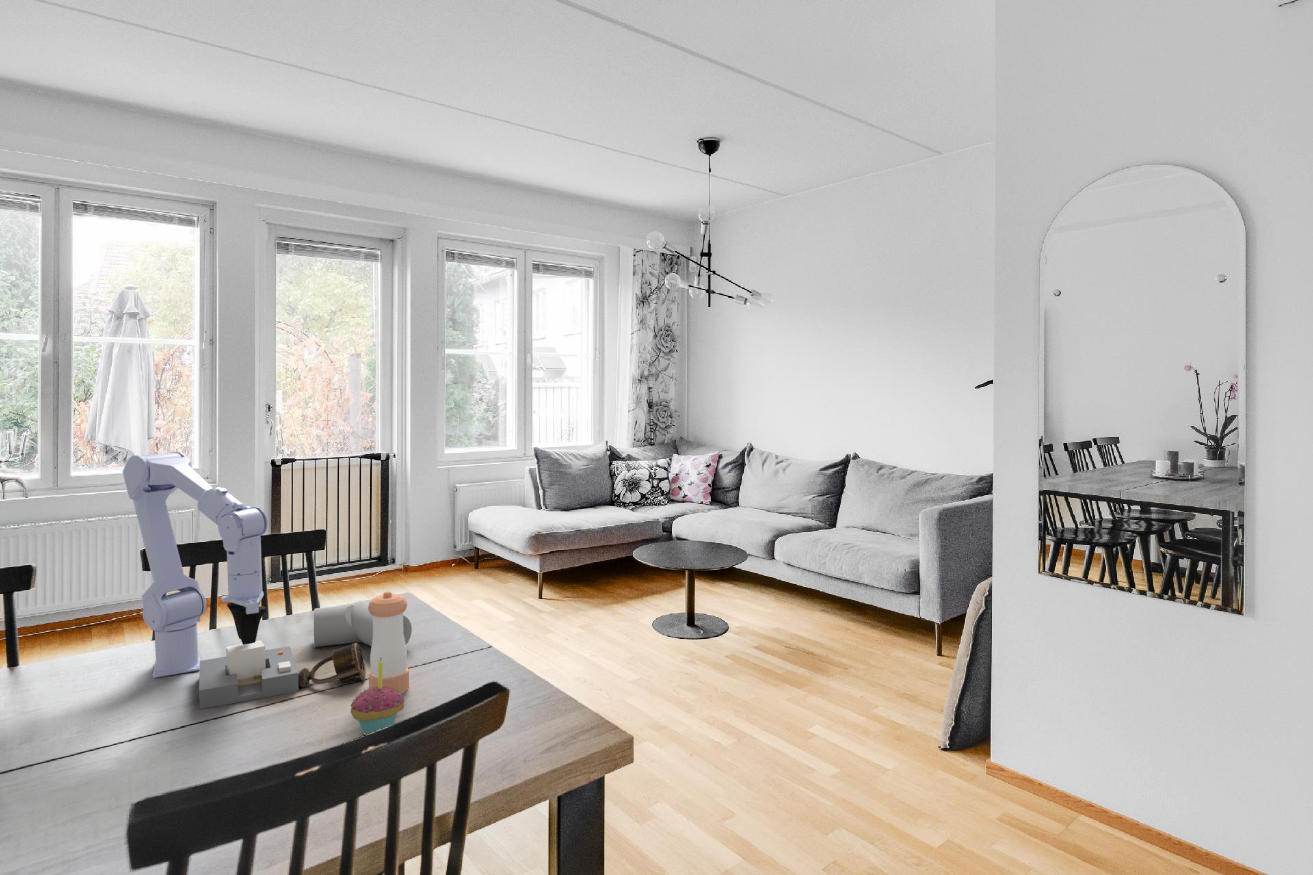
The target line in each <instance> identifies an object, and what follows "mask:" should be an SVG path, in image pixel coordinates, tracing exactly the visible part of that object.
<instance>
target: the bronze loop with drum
mask: <svg viewBox="0 0 1313 875" xmlns="http://www.w3.org/2000/svg"><path fill="white" fill-rule="evenodd" d="M331 661H332V664H333V668H334V671H335V673H336V674H335V675H332V676H329V677H326V678H316V677H315V674H316V673H317V670H319V669H320V668H321V667H322V666H324V665H325V664H327V663H329V662H331ZM366 670H367V669H366V662H365V660H364V657H363V649H362V647H361V646H360V644H359V643H358V642H357V643H350V644H349V645H346V646H343V647H339V648H337V649H335V650H333V651H332V655H330V656H327V657H325V658H323V659H322V660H320V661H319V662H318V663H316V664H315V665H314V666H313V667H312V669H311V670H309V668H307V667H304V668H302V669H300V671H299V672H298V687H301V688H306V687H307V686H308V685H309V682H310V681H312V682H313V683H314V684H318V685H319V684H320V685H325V684H328V683H332V682H335V681H339V682H342V683H343V682H346V681H349V680H352V679H354V678H357V677H360V679H361V681H362V682H365V681H366V675H367V674H366V672H367V671H366Z"/></svg>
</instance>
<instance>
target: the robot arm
mask: <svg viewBox="0 0 1313 875" xmlns="http://www.w3.org/2000/svg"><path fill="white" fill-rule="evenodd" d="M122 475H123V479H124V483H125V487H126V491H127V495H128V498H129V499H130V500H132V501H133V505H134V510H135V514H136V517H137V518H136V519H137V521H138V525H139V529H140V534H141V537H142V541H143V542H142V543H143V545H144V549H145V553H146V558H147V561H148V565H149V569H150V573H151V577H152V581H153V582H152V584H151V585H150V586H149V587H148V588H147V589H146V590H145V591H144V592H143V594H142V595H141V600H142V620H143V621H144V623H145V625H147V627H149V629H150V630H153V631H154V648H155V649H154V650H155V660H154V668H153V673H152V678H154V679H155V678H161V677H167V676H172V675H179V674H184V673H190V672H196V671H200V661H202V659H201V658H202V653H199V649H198V647H199V646H198V645H199V644H198V641H199V640H198V623H200V622H201V617H202V616H203V615H204V614H205V612H206V610H207V599H206V596H205V594H204V593H203V591H202V589H201V588H200V585H199V582H198V580H197V579H194V578H191V577H189V576H188V575H187V574H186V575H185V572H184V570H183V566H182V561H181V558H180V553H179V550H178V546H177V542H176V537H175V534H174V530H173V526H172V522H171V519H170V518H171V517H170V513H169V510H168V506H167V502H166V501H167V500H168V498H169V496H170V495H171V494H173V493H175V491H176V492H177V490H178V489H179V490H180V491H182V492H183V493H185V494H186V495H188V496H189V497H191V498H192V499H194V500H195V501H197V505H196V506H197V510H198V511H199V512H200V513H202V514H203V515H204V516H206V518H208V519H209V520H210V521H212V522H213V523H214V524H215V525H216V526H217V528H218V529H217V530H218V533H219V536H220V538H221V539H222V544H223V548H224V550H225V551H226V564H227V568H226V569H227V570H226V571H227V592H228V593H227V595H223V596H221V598H220V599H221V602H222V603H226V602H228V603H226V606H227V608H228V610H229V611H230V614H231V615H232V619H233V621H234V624H235V629H236V633H237V637H238V639H239V640H240V641H241V644H243V645H246V644H251V643H255V641H257V637H258V630H259V627H260V623H261V619H262V618H263V615H264V614H265V612H266V609H267V608H266V606H265V605H260V603H261V600H262V599H263V597H264V591H263V574H262V569H263V568H262V567H263V566H262V543H261V542H262V537H261V536H263V535H265V533H266V532H267V529H268V519H267V516H266V514H265V512H264V511H263V510H262V509H261V507H259V506H249V505H245V504H244V503H242V502H241V501H239V499H237V498H236V497H234V496H233V495H232V494H230V492H229V490H228V489H227V488H225V487H219V486H218V487H212V486H211V485H210V484H209V483H208V482H207V481H206V480H205V479H204V478H203V477H201V476H200V474H199V473H197V472H196V471H195V469H193V465H192V460H191V458H189V457H187V456H186V455H185V453H183V452H181V451H173V452H167V453H156V454H155V453H154V454H145V455H139V454H135V455H132V456H130V457H128V459H127V461H126V463H125V465H124V468H123V469H122ZM175 591H178V592H175ZM171 592H175V593H171ZM167 593H170V594H167ZM165 594H166V595H165Z"/></svg>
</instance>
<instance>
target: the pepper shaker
mask: <svg viewBox="0 0 1313 875" xmlns="http://www.w3.org/2000/svg"><path fill="white" fill-rule="evenodd" d="M407 602H408V601H407V600H406V598H405V597H404V596H403V595H400V594H397V593H393V592H392V591H390V590H389V591H388V590H387V591H385V592H383V594H380V595H378V596H375V597H374V598H372V599H371V600H370V601H369V602H368V603H369V606H368V610H369V613H370V614H371V615H373V640H372V647H371V646H370V655H369V660H370V672H369V673H368V689H372V688H375V687H378V667H379V662H380V657H382V659H381V662H383V669H382V686H384V687H390V688H394V689H397V691H399V693H402V694H404V693H406V692H407V691H408V690H409V689H410V671H409V670H410V669H409V668H408V667H407V666H408V664H407V661H408V658H407V657H408V651H407V646H406V645H407V644H406V645H405V639H404V634H403V615H404V612H405V611H406V610H407V607H408V603H407Z"/></svg>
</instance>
